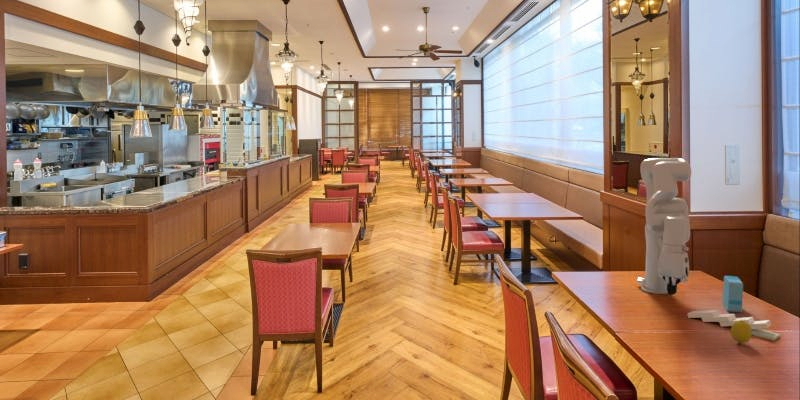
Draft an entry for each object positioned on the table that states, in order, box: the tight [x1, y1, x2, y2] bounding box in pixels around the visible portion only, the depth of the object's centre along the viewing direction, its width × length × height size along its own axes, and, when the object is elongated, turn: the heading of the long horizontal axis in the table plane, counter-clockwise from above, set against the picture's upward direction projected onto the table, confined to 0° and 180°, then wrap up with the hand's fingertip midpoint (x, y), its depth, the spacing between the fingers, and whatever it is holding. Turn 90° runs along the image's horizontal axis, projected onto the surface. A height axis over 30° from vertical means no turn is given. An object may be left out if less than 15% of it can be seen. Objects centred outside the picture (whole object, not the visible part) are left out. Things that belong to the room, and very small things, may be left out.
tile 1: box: [687, 309, 721, 319], centre depth 181 cm, size 2×5×9 cm
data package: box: [722, 275, 744, 314], centre depth 192 cm, size 12×4×12 cm, turn 155°
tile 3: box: [719, 316, 755, 328], centre depth 172 cm, size 2×5×9 cm
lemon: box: [730, 320, 753, 345], centre depth 158 cm, size 6×6×8 cm
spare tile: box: [751, 328, 780, 341], centre depth 166 cm, size 2×5×9 cm
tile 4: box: [749, 319, 772, 330], centre depth 168 cm, size 2×5×9 cm
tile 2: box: [701, 313, 737, 323], centre depth 176 cm, size 2×5×9 cm
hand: (671, 293), depth 190 cm, fingers closed
